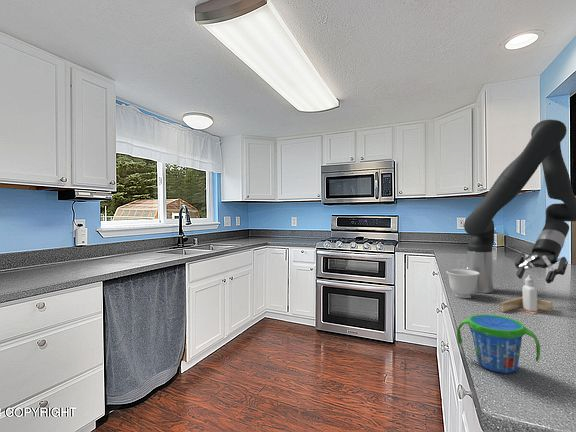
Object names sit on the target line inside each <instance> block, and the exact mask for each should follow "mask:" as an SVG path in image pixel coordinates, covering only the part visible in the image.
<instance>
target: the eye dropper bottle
mask: <svg viewBox="0 0 576 432" xmlns="http://www.w3.org/2000/svg"><path fill="white" fill-rule="evenodd" d="M521 288H522V289H521V290H522V296H523V306H522V308H524V309H525V310H528V311H534V312H537V299H538V290H537V287H536V286H535V279H534V278H532V276H531V275H530V274H527V277H526V278H524V285H523V286H522V287H521Z"/></svg>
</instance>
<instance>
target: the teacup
mask: <svg viewBox="0 0 576 432" xmlns="http://www.w3.org/2000/svg"><path fill="white" fill-rule="evenodd" d="M445 273H446V274H447V276H448V282H449V286H450V289H451V291H452V292H453V293H455V297H456V298H461V299H470V298H472V294H474V293H476V292H475V291H476V287H477V279H478V275H479V274H480V273H479V272H476V271H472V270H466V269H464V268H463V269H461V268H459V269H457V268H453V269H448V270H446V272H445Z"/></svg>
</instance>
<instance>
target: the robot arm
mask: <svg viewBox="0 0 576 432" xmlns="http://www.w3.org/2000/svg"><path fill="white" fill-rule="evenodd" d="M567 132H568V131H567V127H566V124H565V123H564V122H563V121H561V120H557V119H545V120H544V119H543V120H541V121H539V122H537V123H536V124H535V125H534V126H533V128H532V129H531V134H530V135H531V136H530V137H531V138H530V139H529V141H528V143H527V144H526V146H525V147H524V149H523V150H522V151H521V153H520V154H519V155H518V156H517V157H516V158H515V159H514V160H512V161H511V162H510V163H509V164H508V165H507V167H506V168H505V169H504V170H503V171H501V174H500V175H499V176H498V177H497V178H496V180H495V181H494V183H493V184H492V186H491V188H490V189H489V190H488V192H486V194H485V196H484V197H483V199H482V200H481V201H480V203H479V204H478V205H477V207H475V208H474V210H473V211H472V212H471V213H470V214H469V215H468V216H467V217H466V218H465V220H464V223H463V229H464V231H465V233H466V234H468V235H469V236H470V239H469V242H468V243H467V246H466V247H467V249H466V250H467V251H466V252H467V267H465V270H472V271H476V272H479V273H480V274H479V275H478V279H477V287H476V291H475V292H474V293H482V294H483V293H485V294H486V293H487V294H489V293H493V292H494V272H493V271H494V269H493V268H494V266H493V265H494V264H493V263H494V261H493V248H494V243H495V223H494V220H493V219H494V217H495V216H496V215H497V213H498V212H500V210H502V209H503V208H504V207H505V206H506V205H508V204H509V203H510V202H511V201H513V199H515V198H516V197H517V196H518V194H519V193H521V191H522V190H523V188H524V187H525V186H526V185H527V183H528V182H529V181H530V179H531V178H533V177H532V176H533V175H534V173H536V171H537V169H538V168H539V167H540V166H541V165H542V171H543V176H544V181H545V187H546V192H547V193H546V194H547V195H548V198H549V199H552V200H556V201H561V203H552V204H549V205H548V206H547V207H546V208H545V221H544V223H545V224H544V226H543V228H542V230H541V232H540V234H539V235H538V237H537V238H536V241H535V243H534V245H533V246H532V249H531V252H530V253H529V254H525V253H524V252H520V253H519V254H518V255H517V258H516V259H515V261H514V262H513V264H514V266H515V268H516V269H517V271H516V273H515V274H516V276H517V278H518V279H523V277H524V274H525V273H526V270H528V269H533V268H541V269H547V268H548V270H549V271H548V273H547V275H546V277H545V282H546V284H551V283H553V282H554V281H555V278H556V276H557V275H561V276H563V275H565V274H566V270H567V268H568V264H569V261H568V259H567V258H566V257H565V256H562V257H559V256H560V254H561V251H562V249H563V247H564V245H565V243H566V237H567V236H568V233H569V231H570V225H569V224H568V223H567V222H576V195H575V194H574V192H573V189H572V184H571V183H572V182H571V177H570V174H569V171H568V168H567V165H566V163H565V160H564V158H563V154H562V148H561V142H562V141H563V140H564V139H565V137H566V135H567ZM557 263H558V267H557V268H555V267H554V266H553V265H555V264H557Z"/></svg>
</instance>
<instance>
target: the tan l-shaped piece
mask: <svg viewBox="0 0 576 432" xmlns="http://www.w3.org/2000/svg"><path fill="white" fill-rule="evenodd" d="M498 303H499V308H498V309H499V312H501V313H506V312H510V311H512V309H513V310H516V311H519V312H522V313H523V312H524V313H527V314H532V315H535V314H538V313H540V312H544V311H547V312H548V311H549V312H553V305H554V304H553V301H549V300H544V299H539V298H537V312H534V311H528V310H525V309H524V308H523V295H522V296H520V297H519V296H518V297H515V298H511V299H508V300H504V301H501V302H498ZM509 310H510V311H509Z"/></svg>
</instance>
